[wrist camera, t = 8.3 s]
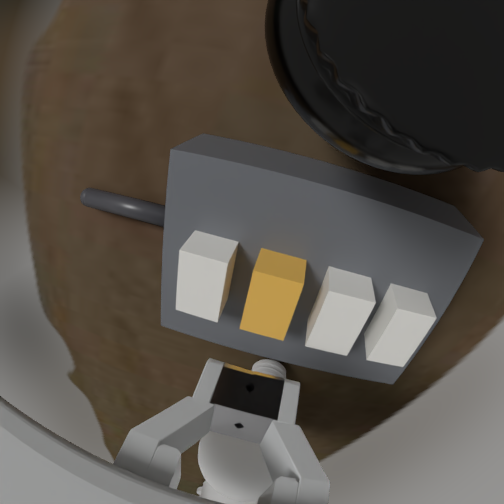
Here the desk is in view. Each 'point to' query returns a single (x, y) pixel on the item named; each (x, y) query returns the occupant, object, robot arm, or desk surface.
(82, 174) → the desk surface
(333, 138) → the supplement bottle
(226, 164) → the breaker strip
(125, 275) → the desk surface
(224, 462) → the lightbulb
